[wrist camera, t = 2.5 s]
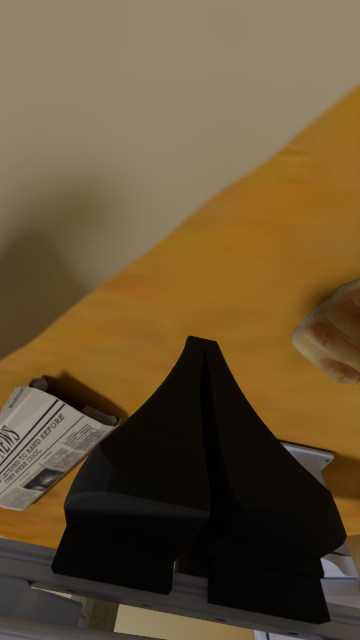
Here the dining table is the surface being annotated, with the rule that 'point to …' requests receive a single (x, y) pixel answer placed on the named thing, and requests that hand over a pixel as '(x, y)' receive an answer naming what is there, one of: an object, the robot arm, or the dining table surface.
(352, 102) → the dining table surface
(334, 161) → the dining table surface
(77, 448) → the newspaper
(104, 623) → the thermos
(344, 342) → the pastry
